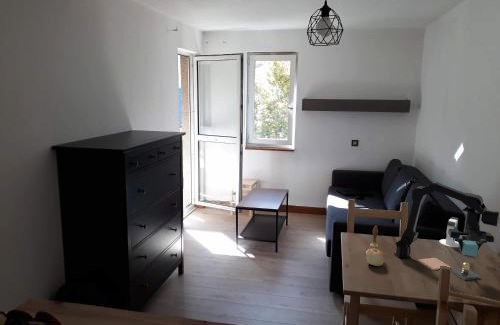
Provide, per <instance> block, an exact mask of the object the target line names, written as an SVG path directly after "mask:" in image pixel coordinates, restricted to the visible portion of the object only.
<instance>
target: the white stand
mask: <svg viewBox="0 0 500 325" xmlns="http://www.w3.org/2000/svg"><path fill="white" fill-rule="evenodd" d="M458 222H459V218H458V217H454V216H451V217H450V219H448V221H447V227H446V238H445V239H444V238H443V239H442V238H441V239H440V240H439V241H438V242H439V243H440V244H441V245H442V246H446V247H449V248H460V247H459V243H458V241H456V238H451V237H450V236H449V234H448V230H449V229H457V230H458V227H459V223H458Z"/></svg>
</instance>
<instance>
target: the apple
mask: <svg viewBox="0 0 500 325" xmlns="http://www.w3.org/2000/svg"><path fill="white" fill-rule="evenodd" d="M365 258H366V261H367V263H368V264H370V265H372V266H376V267H380V266H382V265H383V264H384V263H385V259H386V258H385V254H384V253H383V251H382V250H380V249H379V250H378V249H375V248H372V249H370V250H369V251H368V252H367V254H366V257H365Z"/></svg>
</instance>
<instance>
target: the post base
mask: <svg viewBox="0 0 500 325" xmlns="http://www.w3.org/2000/svg"><path fill="white" fill-rule="evenodd" d="M450 270H451V272H450V273H452V274H453V275H455V276H457V277H458V278H460V279H462V280H463V281H471V280H478V279H481V275H479V274H477V273H475V272H474V271H472V270H470V263H469V262H467V261H464V262H463V263H462V267H459V268H452V269H451V268H450Z"/></svg>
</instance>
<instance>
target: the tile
mask: <svg viewBox="0 0 500 325" xmlns="http://www.w3.org/2000/svg"><path fill="white" fill-rule="evenodd" d="M417 262H419V264H422V265H424V266H425V267H426V268H428V269H429V270H431V271H438V270H439V269H440V266H447V267H449V269H451V268H452V266H451V265H449V264H447V263H445V262H443V261H442V260H440V259H438V258H437V257H431V258H420V259H419V258H418V259H417ZM440 270H441V269H440Z"/></svg>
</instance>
